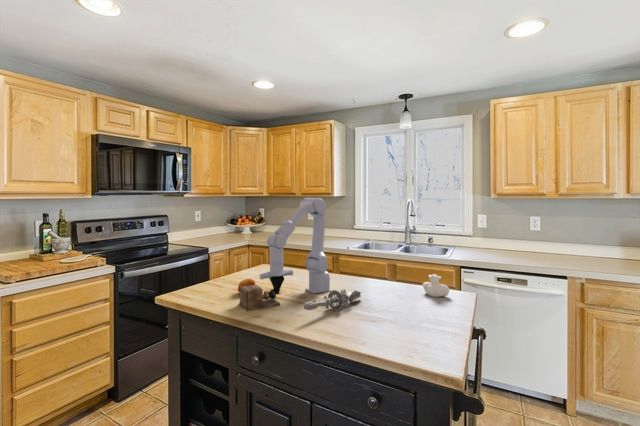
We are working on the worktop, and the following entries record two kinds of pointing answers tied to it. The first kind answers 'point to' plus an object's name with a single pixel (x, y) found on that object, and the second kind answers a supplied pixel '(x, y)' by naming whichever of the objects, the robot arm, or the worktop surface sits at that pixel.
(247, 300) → the bearing housing
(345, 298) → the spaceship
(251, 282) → the fruit
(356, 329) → the worktop surface
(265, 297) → the shaft
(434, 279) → the white rounded figure
